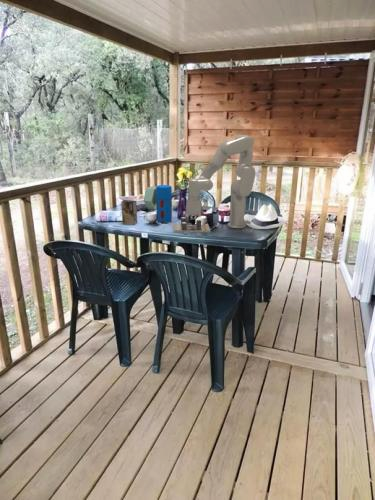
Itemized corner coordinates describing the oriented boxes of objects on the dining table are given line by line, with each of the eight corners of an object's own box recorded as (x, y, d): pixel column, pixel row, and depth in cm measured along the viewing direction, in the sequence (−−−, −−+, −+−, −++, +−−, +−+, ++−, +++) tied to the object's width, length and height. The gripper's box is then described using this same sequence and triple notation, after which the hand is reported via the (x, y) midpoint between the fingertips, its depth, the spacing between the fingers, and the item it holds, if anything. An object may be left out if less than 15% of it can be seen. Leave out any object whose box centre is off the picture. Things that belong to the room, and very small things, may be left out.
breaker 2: (186, 228, 231) (186, 222, 230) (186, 229, 229) (186, 223, 228) (181, 228, 231) (181, 222, 230) (181, 229, 229) (182, 223, 228)
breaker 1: (185, 223, 243) (185, 217, 241) (185, 224, 240) (185, 218, 239) (181, 223, 242) (181, 217, 241) (181, 224, 240) (181, 218, 239)
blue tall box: (169, 223, 248) (169, 188, 240) (155, 222, 250) (154, 187, 242) (173, 219, 258) (173, 185, 250) (159, 218, 260) (158, 184, 252)
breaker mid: (200, 225, 238) (201, 219, 236) (201, 226, 235) (201, 220, 234) (196, 225, 238) (196, 219, 236) (196, 226, 235) (196, 220, 234)
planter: (157, 214, 287) (149, 196, 272) (149, 213, 291) (140, 195, 275) (166, 200, 295) (159, 181, 280) (159, 199, 299) (150, 180, 284)
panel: (207, 225, 245) (207, 222, 244) (210, 232, 230) (210, 229, 229) (173, 225, 244) (173, 223, 243) (173, 232, 229) (173, 230, 228)
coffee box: (137, 222, 249) (136, 200, 244) (134, 225, 243) (133, 202, 238) (125, 221, 251) (124, 199, 246) (122, 224, 245) (120, 201, 240)
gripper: (204, 196, 233) (203, 223, 240) (182, 196, 232) (181, 223, 239) (205, 199, 226) (204, 226, 233) (182, 198, 225) (182, 226, 232)
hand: (193, 224), depth 236 cm, fingers closed
